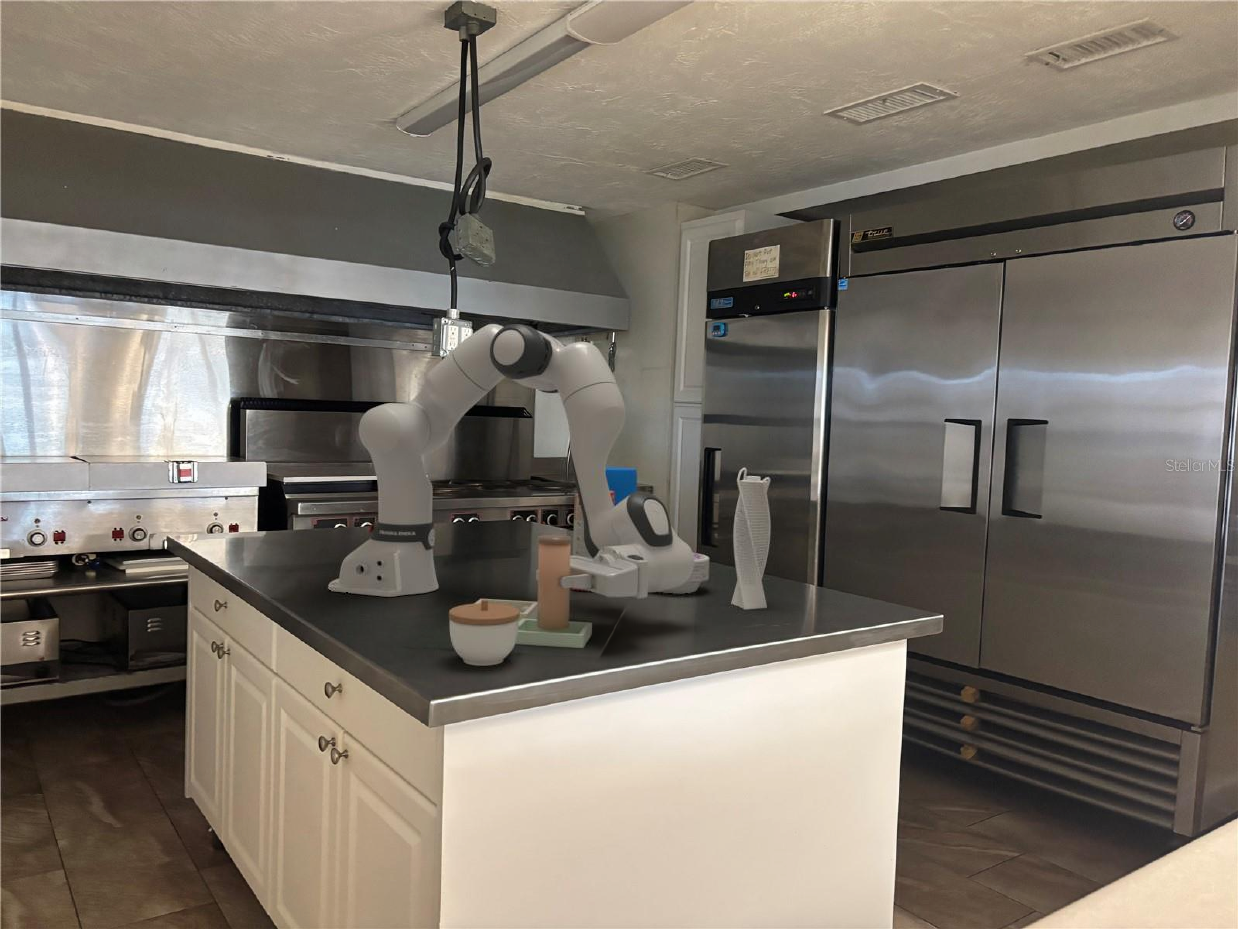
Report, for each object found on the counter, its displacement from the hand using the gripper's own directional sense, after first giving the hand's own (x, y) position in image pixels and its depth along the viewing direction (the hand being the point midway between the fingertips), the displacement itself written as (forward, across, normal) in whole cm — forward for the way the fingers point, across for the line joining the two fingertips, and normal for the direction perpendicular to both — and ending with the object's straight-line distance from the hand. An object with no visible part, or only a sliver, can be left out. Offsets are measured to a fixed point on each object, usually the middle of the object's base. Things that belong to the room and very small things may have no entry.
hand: (549, 579), depth 148 cm
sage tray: (-1, 0, +11) cm, 11 cm away
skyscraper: (-52, -5, +12) cm, 53 cm away
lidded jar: (+13, +2, +11) cm, 17 cm away
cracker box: (-36, -37, +11) cm, 53 cm away
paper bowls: (-49, -24, +12) cm, 56 cm away
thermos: (-51, -48, +11) cm, 71 cm away
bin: (+3, -20, +11) cm, 23 cm away
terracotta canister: (-1, 0, +8) cm, 8 cm away
